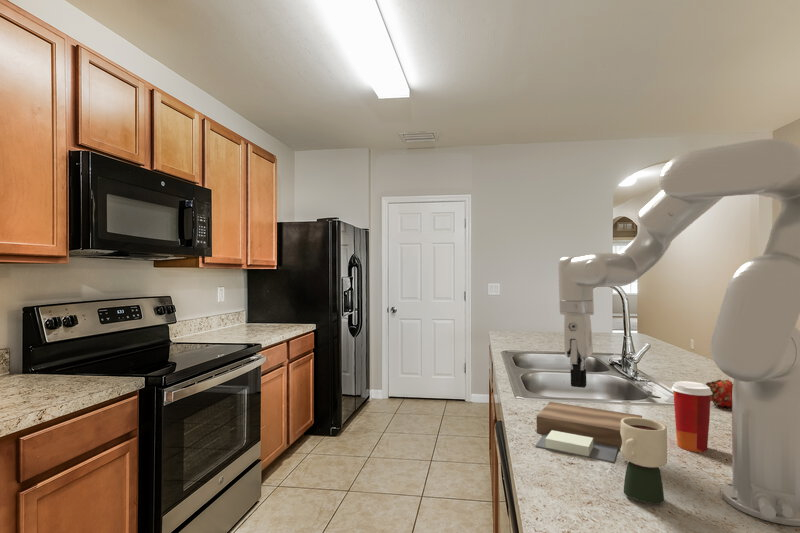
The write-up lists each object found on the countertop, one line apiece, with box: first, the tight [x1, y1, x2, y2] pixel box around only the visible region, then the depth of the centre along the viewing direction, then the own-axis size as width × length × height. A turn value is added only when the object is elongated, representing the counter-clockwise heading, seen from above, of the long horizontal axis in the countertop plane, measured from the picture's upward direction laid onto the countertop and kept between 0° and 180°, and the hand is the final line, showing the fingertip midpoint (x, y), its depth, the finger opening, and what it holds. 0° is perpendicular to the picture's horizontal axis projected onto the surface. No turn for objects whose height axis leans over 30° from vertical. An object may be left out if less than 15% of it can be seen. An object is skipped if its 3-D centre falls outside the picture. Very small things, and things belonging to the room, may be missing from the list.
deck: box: [536, 401, 643, 449], centre depth 109 cm, size 14×22×4 cm, turn 59°
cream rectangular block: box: [545, 430, 593, 456], centre depth 99 cm, size 6×9×2 cm, turn 58°
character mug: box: [619, 417, 668, 505], centre depth 77 cm, size 11×7×13 cm, turn 125°
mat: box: [534, 433, 619, 464], centre depth 100 cm, size 9×16×1 cm, turn 59°
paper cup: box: [670, 380, 713, 453], centre depth 100 cm, size 8×8×14 cm
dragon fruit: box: [705, 379, 733, 409], centre depth 130 cm, size 8×8×12 cm
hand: (578, 386), depth 105 cm, fingers closed
